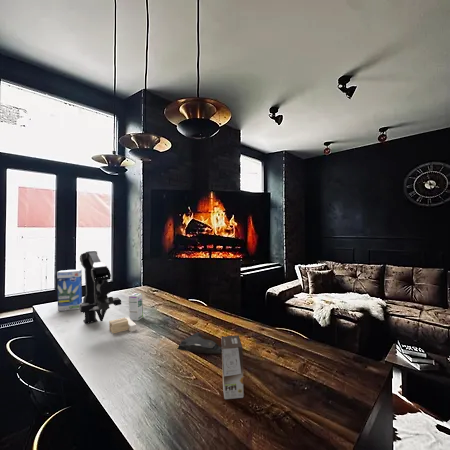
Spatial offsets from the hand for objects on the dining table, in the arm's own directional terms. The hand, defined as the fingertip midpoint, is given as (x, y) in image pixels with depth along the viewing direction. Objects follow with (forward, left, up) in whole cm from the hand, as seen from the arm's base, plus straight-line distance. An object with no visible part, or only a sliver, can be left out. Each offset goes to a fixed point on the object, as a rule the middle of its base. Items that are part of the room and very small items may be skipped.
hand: (101, 321), depth 132 cm
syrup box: (-10, +21, -7) cm, 24 cm away
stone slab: (+45, +32, -8) cm, 56 cm away
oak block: (0, +9, -7) cm, 11 cm away
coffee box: (+77, +24, -7) cm, 81 cm away
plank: (0, +14, -7) cm, 16 cm away
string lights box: (-60, -7, -7) cm, 61 cm away
